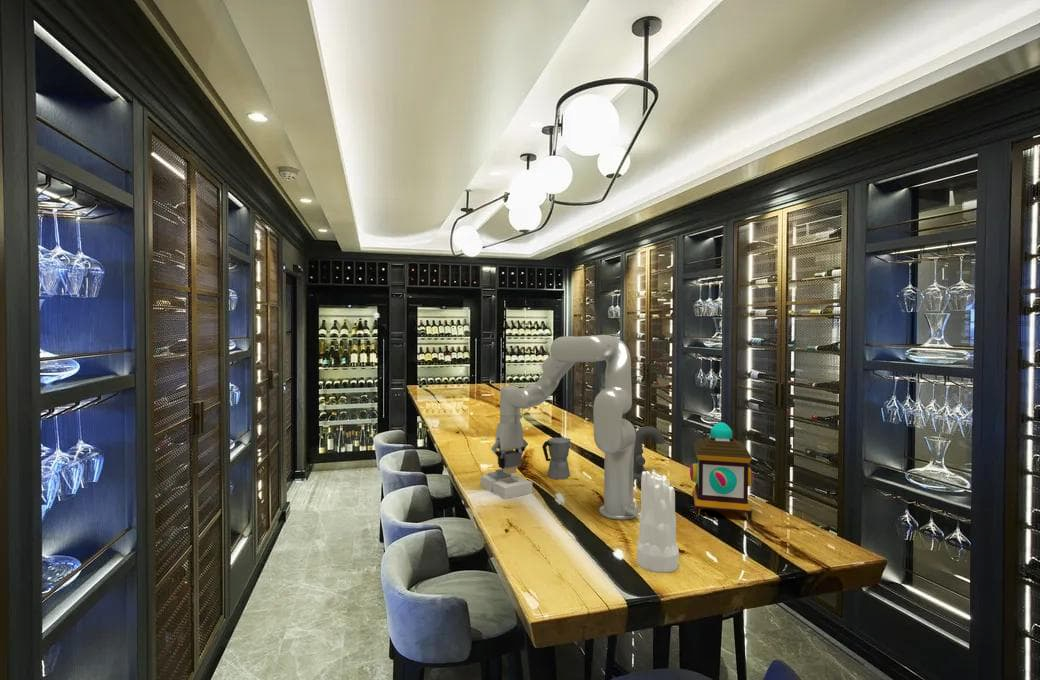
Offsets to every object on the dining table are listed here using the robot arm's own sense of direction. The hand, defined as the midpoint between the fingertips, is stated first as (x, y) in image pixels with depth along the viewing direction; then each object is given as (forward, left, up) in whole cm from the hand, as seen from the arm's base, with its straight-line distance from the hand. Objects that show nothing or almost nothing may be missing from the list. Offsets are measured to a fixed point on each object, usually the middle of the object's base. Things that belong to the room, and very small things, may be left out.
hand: (509, 465), depth 198 cm
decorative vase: (-71, -1, -10) cm, 72 cm away
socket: (+3, 0, -10) cm, 10 cm away
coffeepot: (+5, -26, -10) cm, 28 cm away
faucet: (-12, -60, -10) cm, 62 cm away
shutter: (+8, 0, -6) cm, 10 cm away
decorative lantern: (-56, -49, -10) cm, 75 cm away
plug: (0, 0, -2) cm, 2 cm away
